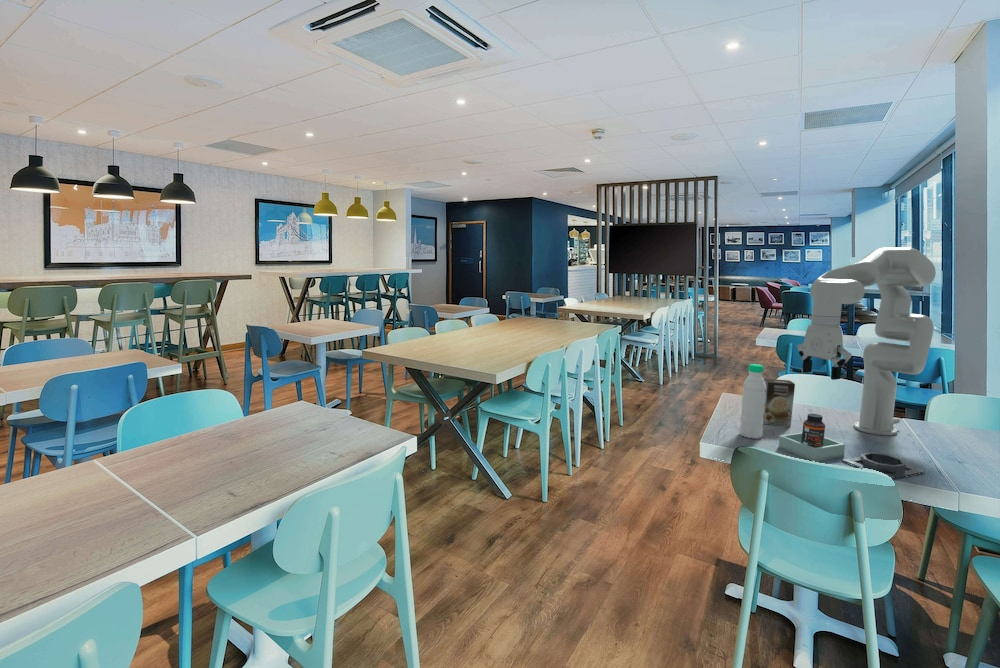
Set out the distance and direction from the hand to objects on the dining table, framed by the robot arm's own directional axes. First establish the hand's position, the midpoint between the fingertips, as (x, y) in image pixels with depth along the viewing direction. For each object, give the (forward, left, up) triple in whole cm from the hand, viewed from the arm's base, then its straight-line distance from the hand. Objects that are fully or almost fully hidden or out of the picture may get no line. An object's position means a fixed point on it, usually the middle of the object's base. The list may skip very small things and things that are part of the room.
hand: (820, 375), depth 161 cm
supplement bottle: (+2, +1, -24) cm, 24 cm away
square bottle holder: (-7, +16, -25) cm, 30 cm away
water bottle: (+8, -18, -25) cm, 31 cm away
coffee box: (-12, -26, -25) cm, 38 cm away
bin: (+2, 0, -25) cm, 25 cm away
